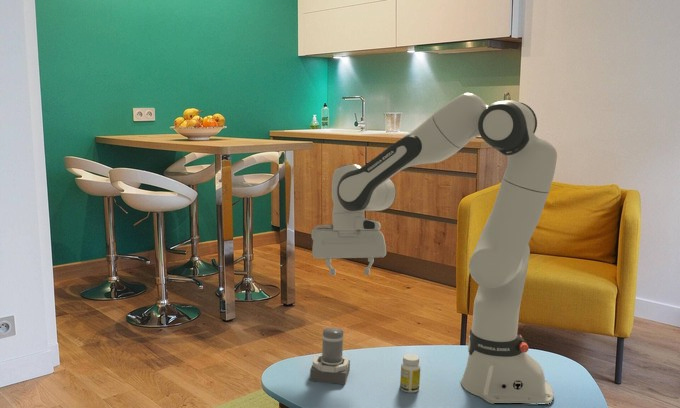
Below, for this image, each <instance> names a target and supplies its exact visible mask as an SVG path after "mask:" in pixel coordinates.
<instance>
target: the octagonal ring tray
mask: <svg viewBox="0 0 680 408" xmlns="http://www.w3.org/2000/svg"><path fill="white" fill-rule="evenodd" d="M321 359H322V353H321V354H316V355H315V356H314V358H313V360H312V364H311V367H310V369H309V370H310V371H309V373H310V375H309V381H310V382H322V383H328V384H330V383H331V384H338V385H346V383H347V380H348V377H349V374H350V370H351V369H350V368H351V360H350V359H349V358H347V357H346V356H345V355H343V354H342V364H341V365H337V366H326V365H322V362H321Z"/></svg>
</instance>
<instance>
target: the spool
mask: <svg viewBox="0 0 680 408" xmlns="http://www.w3.org/2000/svg"><path fill="white" fill-rule="evenodd" d="M344 337H345V336H344V330H343V329H342V328H340V327H339V328H338V327H327V328H324V329H323V330H322V338H321V339H322V343H321V344H322V350H321V354H322V359H321V362H322V365H326V366H337V365H341V364H342V355H343V346H344Z"/></svg>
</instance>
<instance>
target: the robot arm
mask: <svg viewBox="0 0 680 408" xmlns="http://www.w3.org/2000/svg"><path fill="white" fill-rule="evenodd" d="M537 127H538V120H537V115H536V113H535V111H534V110H533V109H532V107H530V106H529V105H527V104H525V103H523V102H519V101H516V100H512V99H507V100H500V101H496V102H492V103H490V104H489V105H488V104H487V103H486V102H485V101H484V100H483V99H482V98H481V97H480V96H478V95H477V94H474V93H472V92H471V93H470V92H465V93H462V94H460V95H458V96H456V97H455V98H453V99H451V100H450V101H449V102H447V103H446V104H444V105H442V106H441V107H440V108H439V109H437V110H436V112H434V113H433V114H432V115H431V116H430V117H428V118H427V119H426V120H425V121H423V122H422V123H421V124H420V125H418V126H417V127H416V128H414V129H413V130H412V131H410V132H409V133H408V134H406V135H405V136H403V137H402V138H400V139H399V140H398V141H397V140H396V141H395V142H394V143H393V144H391V145H390V146H388V148H386V149H384V150H383V151H382V152H381V153H379V154H378V155H377V156H375V157H373V158H372V159H371V160H370V161H368V162H367V163H366V164H365V165H363V166H361V165H359V164H356V163H353V164H351V163H350V164H344V165H340V166H339V167H337V168H335V169H334V172H333V174H332V179H331V180H332V181H331V200H332V202H333V207H332V208H333V209H332V215H331V218H332V220H331V221H332V223H331V224H324V225H322V224H317V225H316V226H314V227H313V228H312V229H311V239H312V247H311V248H312V249H311V250H312V251H311V255H312V257H313V258H314V259H315V260H316V259H323V260H324V261H325V262H324V263H325V265H326V267H327V268H328V270H329V276H336V275H337V273H336V268H333V266H332V265H331V263H332V259H353V258H354V259H357V258H358V259H359V258H360V259H362V258H363V259H364V258H365V259H366V258H367V262H369V263H368V266H367V267H364V268H363V272H364V273H363V274H364V275H365V276H368V275H369V276H370V275H371V268H372V265H373V264H374V260H375V259H374V258H384V257H385V256H386V255H387V245H386V240H385V236H384V233H383V232H382V231H380V230H381V228H382V225H381V223H380V221H377V220H372V218H366V217H365V211H371V212H372V211H374V212H375V211H378V212H379V211H384V210H387V209H389V208H390V207H392V206H393V204H394V203H395V200H396V197H397V189H396V185H395V184H394V182H393V180H392V179H391V178H392V177H394V176H395V175H397V173H400V171H402V170H405V169H407V168H409V167H413V166H417V165H425V164H426V165H427V164H436V163H437V164H438V163H441V162H443V161H445V160H447V159H449V158H451V157H452V156H454V155H455V154H457V153H458V152H459V151H460V150H461V149H462V148H464V147H465V146H466V145H467V144H468V143H470V142H471V141H473V140H474V139H476V138H477V137H481V138H482V140H483V141H485V143H486V144H487V145H489V146H490V147H492V148H493V149H495V150H496V151H498V152H499V153H501V154H502V155H504V156H507V163H506V164H507V165H506V168H505V171H504V173H503V176H502V180H501V183H500V185H499V188H498V191H497V195H496V197H495V201H494V204H493V206H492V209H491V212H490V214H489V216H488V218H487V220H486V222H485V224H484V227H483V228H482V232H481V233H480V235H479V238H478V240H477V243H476V246H475V248H474V250H473V252H472V253H471V254H472V255H471V257H470V259H469V263H468V270H469V274H470V276H471V278H472V280H473V281H474V282H475V283H477V285H478V288H477V291H476V295H475V297H474V302H473V311H472V323H471V329H470V331H469V335H468V344H467V346H468V347H467V351H468V357H467V361H466V366H465V369H464V373H463V375H462V377H461V380H460V384H461V386H462V387H463V388H464V390H466V391H467V392H469V393H470V394H473V395H475V396H477V397H479V398H481V399H483V400H484V401H486V402H487V403H489V404H492V405H493V404H494V403H545V404H548V403H550V402H552V403H553V401H554V390H553V388H552V386H551V385H550V383H549V381H547V380H546V379H545V374H544V370H543V368H542V366H541V365H540V362H538V361H537V360H536V359H534V358H533V357H532V356H531V355H530V354H529V353H528V352H529V345H528V343H527V342H526V340H525V338H523V335H521V334H518V329H519V319H520V318H519V317H520V307H521V302H522V298H523V293H524V289H525V288H524V287H525V284H526V279H527V273H528V265H529V261H530V256H531V249H530V245H529V244H530V241H531V238H532V237H533V234H534V232H535V230H536V229H537V226H538V224H539V222H540V219H541V216H542V213H543V210H544V208H545V206H546V203H547V202H546V201H547V199H548V195H549V194H550V191H551V188H552V183H553V180H554V177H555V172H556V167H557V159H558V153H557V152H558V151H557V150H556V148H555V147H554V146H553V144H552V143H550V142H548V141H547V140H545V139H542V138H539V137H538V136H536V135H535V133H536V131H537ZM552 400H553V401H552ZM550 404H551V403H550ZM494 405H495V404H494ZM548 405H549V404H548Z"/></svg>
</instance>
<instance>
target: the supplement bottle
mask: <svg viewBox="0 0 680 408" xmlns="http://www.w3.org/2000/svg"><path fill="white" fill-rule="evenodd" d="M402 357H403V358H402V363H401V365H400V378H399V379H400V380H399V381H400V382H399V384H400V385H399V389H400V390H401V391H402V392H405V393H408V394H409V393H411V394H412V393H417V392H418V391H419V390H420V377H421V364H420V356H419V355H417V354H414V353H406V354H404V355H403V356H402Z"/></svg>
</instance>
